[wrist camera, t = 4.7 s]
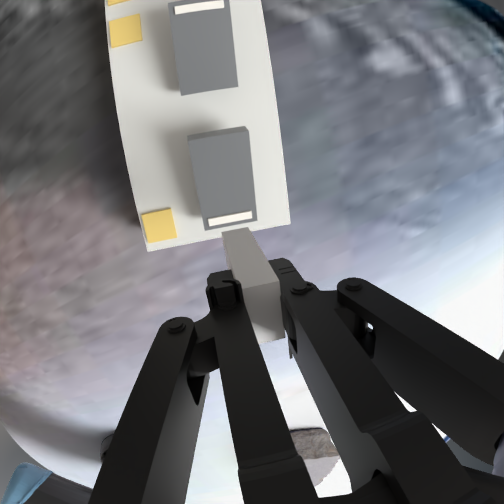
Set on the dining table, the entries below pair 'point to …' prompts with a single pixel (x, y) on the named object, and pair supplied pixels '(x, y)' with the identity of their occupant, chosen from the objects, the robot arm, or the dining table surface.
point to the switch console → (190, 119)
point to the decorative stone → (316, 452)
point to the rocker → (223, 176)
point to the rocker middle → (203, 45)
